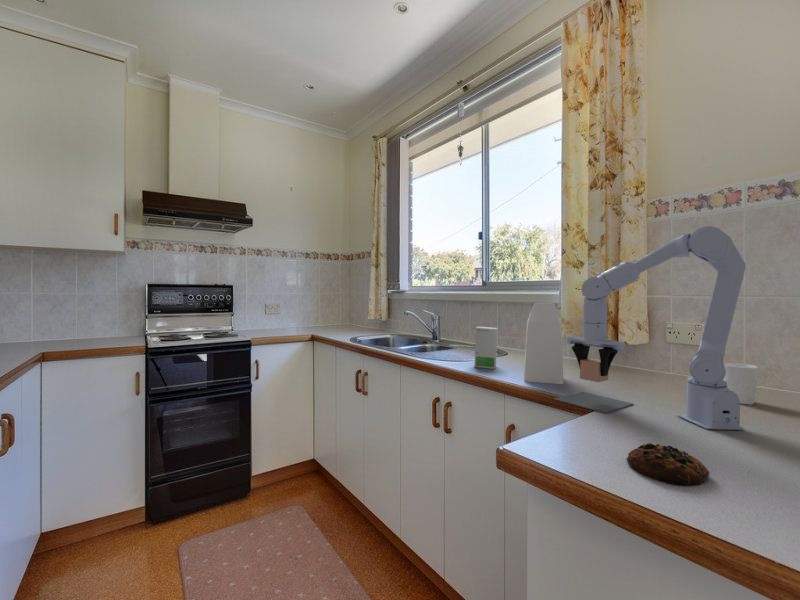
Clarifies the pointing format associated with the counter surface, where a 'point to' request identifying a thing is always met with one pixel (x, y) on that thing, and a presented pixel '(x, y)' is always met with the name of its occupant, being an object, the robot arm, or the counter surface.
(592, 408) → the panel
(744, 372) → the white cup
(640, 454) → the bread roll
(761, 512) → the counter surface
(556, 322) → the milk
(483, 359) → the skincare box
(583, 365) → the cube
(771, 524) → the counter surface
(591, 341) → the robot arm
